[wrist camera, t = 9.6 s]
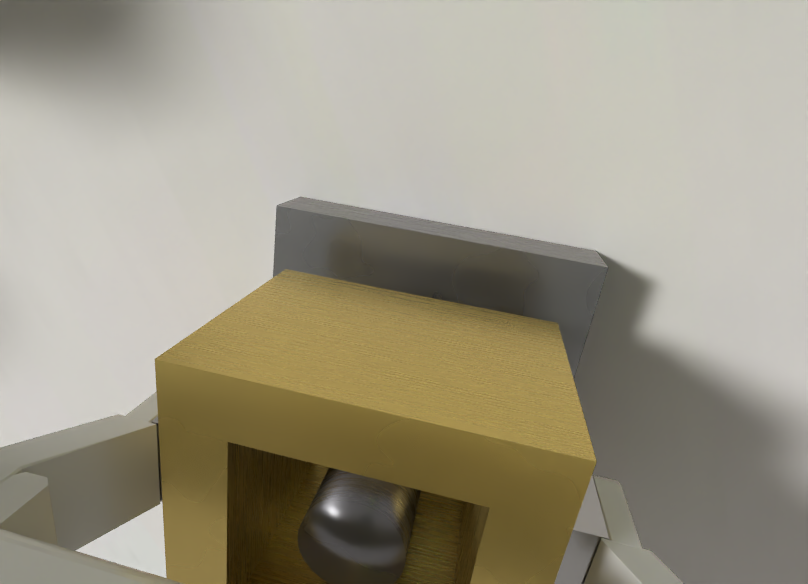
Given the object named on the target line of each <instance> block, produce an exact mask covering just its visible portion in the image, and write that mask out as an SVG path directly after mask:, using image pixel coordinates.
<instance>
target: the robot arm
mask: <svg viewBox="0 0 808 584" xmlns="http://www.w3.org/2000/svg"><path fill="white" fill-rule="evenodd" d="M160 501H162V482H161V463H160V445H159V426H158V408H157V392H155V393H154V394H153V395H152V396H150V397H149V398H148V399H146V400H145V401H144V402H142V403H141V404H140V405H139V406H137V407H136V408H135V409H133V410H132V411H131V412H130V413H128V414H127V415H126V416H123V415H119V414H118V415H114V416H110V417H107V418H103V419H100V420H96V421H93V422H89V423H86V424H82V425H79V426H75V427H72V428H68V429H65V430H61V431H58V432H54V433H50V434H47V435H43V436H40V437H36V438H33V439H29V440H26V441H22V442H19V443H15V444H12V445H8V446H5V447H1V448H0V584H184V583H180V582H177V581H174V580H170V579H167V578H164V577H160V576H157V575H154V574H150V573H147V572H144V571H140V570H137V569H134V568H130V567H127V566H124V565H120V564H117V563H114V562H110V561H107V560H104V559H100V558H97V557H94V556H90V555H87V554H84V553H80V552H77V551H75V550H77V549H79V548H81V547H82V546H84V545H86V544H88V543H90V542H91V541H93V540H95V539H97V538H99V537H101V536H102V535H104V534H106V533H108V532H110V531H111V530H113V529H115V528H117V527H119V526H120V525H122V524H124V523H126V522H128V521H130V520H131V519H133V518H135V517H137V516H139V515H140V514H142V513H144V512H146V511H148V510H150V509H151V508H153V507H155V506H157V505H159V504H160ZM162 502H163V501H162ZM554 584H684V583H683V582H682V581H681V580H680V579H679V578H678V577H677V576H676V575H675V574H674V573H673V572H672V571H671V570H670V569H669V568H668V567H667V566H666V565H665V564H664V563H663V562H662V561H661V560H660V559H659V558H658V557H657V556H656V555H655V554H654V553H653V552H652V551H650V550H646V549H643V548H642V545H641V542H640V539H639V536H638V533H637V530H636V527H635V525H634V522H633V519H632V516H631V513H630V510H629V507H628V504H627V501H626V498H625V495H624V492H623V489H622V486H621V484H620V483H619V482H618V481H617V480H613V479H609V478H604V477H599V476H594V475H592V476H591V479H590V482H589V485H588V488H587V491H586V494H585V496H584V499H583V502H582V505H581V508H580V511H579V514H578V517H577V519H576V522H575V525H574V528H573V531H572V534H571V537H570V539H569V542H568V545H567V548H566V551H565V554H564V557H563V560H562V562H561V565H560V568H559V571H558V574H557V577H556V580H555V582H554Z"/></svg>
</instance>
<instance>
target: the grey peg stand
mask: <svg viewBox="0 0 808 584" xmlns="http://www.w3.org/2000/svg"><path fill="white" fill-rule="evenodd" d="M285 269H288V270H293V271H298V272H303V273H308V274H313V275H318V276H323V277H328V278H333V279H339V280H344V281H349V282H354V283H359V284H364V285H369V286H374V287H379V288H384V289H389V290H394V291H399V292H404V293H409V294H414V295H419V296H424V297H429V298H434V299H439V300H444V301H449V302H454V303H459V304H464V305H469V306H474V307H480V308H485V309H490V310H495V311H500V312H505V313H510V314H515V315H520V316H525V317H530V318H535V319H540V320H545V321H550V322H555V323H558V326H559V329H560V333H561V336H562V340H563V343H564V347H565V350H566V354H567V358H568V361H569V365H570V368H571V372H572V375H573V379H574V376H575V373H576V370H577V367H578V363H579V360H580V357H581V354H582V351H583V347H584V344H585V341H586V338H587V334H588V331H589V328H590V325H591V322H592V318H593V315H594V312H595V309H596V305H597V302H598V299H599V296H600V293H601V289H602V286H603V283H604V280H605V276H606V273H607V270H608V266H607V265H606V264H605V262H604V261H603V260H602V258H601V257H600V256H599V254H598V253H597V251H593V250H588V249H582V248H577V247H571V246H566V245H560V244H555V243H550V242H544V241H539V240H533V239H528V238H522V237H517V236H511V235H506V234H500V233H495V232H489V231H484V230H479V229H473V228H468V227H462V226H457V225H451V224H446V223H440V222H435V221H429V220H424V219H419V218H413V217H408V216H402V215H397V214H391V213H386V212H380V211H375V210H369V209H364V208H358V207H353V206H348V205H342V204H337V203H331V202H326V201H320V200H315V199H309V198H304V197H298V198H296V199H293V200H290V201H287V202H285V203H282V204H279V205H277V209H276V229H275V249H274V269H273V277H275V276H276V275H278V274H279V273H281V272H282V271H284V270H285ZM420 494H421V490H417V489H414V488H410V487H406V486H402V485H398V484H394V483H390V482H386V481H382V480H378V479H374V478H370V477H366V476H362V475H358V474H354V473H350V472H346V471H342V470H338V469H334V468H330V467H329V468H328V470H327V472H326V474H325V476H324V478H323V480H322V482H321V485H320V487H319V489H318V491H317V493H316V495H315V497H314V499H313V501H312V503H311V505H310V507H309V509H308V511H307V513H306V515H305V517H304V519H303V521H302V523H301V525H300V527H299V530H298V547H299V550H300V553H301V555H302V557H303V559H304V560H305V562H306V564H307V565H308V566H309V567H310V568H311V569H312V570H313V572H314V573H316V574H317V575H318V576H319V577H320V578H322V579H323V580H325V581H326V582H328V583H330V584H393V583H395V582H396V581H397V580H398V579H399V577H400V576H401V574H402V572H403V570H404V567H405V563H406V558H407V553H408V549H409V544H410V540H411V535H412V530H413V526H414V521H415V517H416V512H417V507H418V503H419V498H420Z"/></svg>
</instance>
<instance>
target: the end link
mask: <svg viewBox="0 0 808 584" xmlns="http://www.w3.org/2000/svg"><path fill="white" fill-rule="evenodd" d="M155 370H156V389H157V408H158V426H159V445H160V463H161V482H162V501H163V519H164V538H165V557H166V575H167V579H170V580H174V581H177V582H180V583H184V584H330V583H328V582H326V581H325V580H323V579H322V578H320V577H319V576H318V575H317V574H316V573H314V572H313V570H312V569H311V568H310V567H309V566H308V565H307V564H306V562H305V560H304V559H303V557H302V555H301V553H300V550H299V547H298V530H299V527H300V525H301V523H302V521H303V519H304V517H305V515H306V513H307V511H308V509H309V507H310V505H311V503H312V501H313V499H314V497H315V495H316V493H317V491H318V489H319V487H320V485H321V482H322V480H323V478H324V476H325V474H326V472H327V470H328V468H329V467H330V468H334V469H338V470H342V471H346V472H350V473H354V474H358V475H362V476H366V477H370V478H374V479H378V480H382V481H386V482H390V483H394V484H398V485H402V486H406V487H410V488H414V489H417V490H421V494H420V498H419V503H418V507H417V512H416V517H415V521H414V526H413V530H412V535H411V540H410V544H409V549H408V553H407V558H406V563H405V567H404V570H403V572H402V574H401V576H400V577H399V579H398V580H397V581H396V582H395V583H393V584H554V582H555V580H556V577H557V574H558V571H559V568H560V565H561V562H562V560H563V557H564V554H565V551H566V548H567V545H568V542H569V539H570V537H571V534H572V531H573V528H574V525H575V522H576V519H577V517H578V514H579V511H580V508H581V505H582V502H583V499H584V496H585V494H586V491H587V488H588V485H589V482H590V479H591V476H592V474H593V471H594V468H595V465H596V462H597V461H596V458H595V454H594V450H593V447H592V443H591V440H590V436H589V433H588V429H587V425H586V422H585V418H584V415H583V411H582V408H581V404H580V400H579V397H578V393H577V390H576V386H575V383H574V379H573V375H572V372H571V368H570V365H569V361H568V358H567V354H566V350H565V347H564V343H563V340H562V336H561V333H560V329H559V326H558V323H555V322H550V321H545V320H540V319H535V318H530V317H525V316H520V315H515V314H510V313H505V312H500V311H495V310H490V309H485V308H480V307H474V306H469V305H464V304H459V303H454V302H449V301H444V300H439V299H434V298H429V297H424V296H419V295H414V294H409V293H404V292H399V291H394V290H389V289H384V288H379V287H374V286H369V285H364V284H359V283H354V282H349V281H344V280H339V279H333V278H328V277H323V276H318V275H313V274H308V273H303V272H298V271H293V270H288V269H285V270H284V271H282V272H281V273H279V274H278V275H276V276H275V277H273V278H272V279H271V280H269V281H268V282H266V283H265V284H263V285H262V286H260V287H259V288H257V289H256V290H255V291H253V292H252V293H250V294H249V295H247V296H246V297H244V298H243V299H241V300H240V301H239V302H237V303H236V304H234V305H233V306H231V307H230V308H228V309H227V310H225V311H224V312H223V313H221V314H220V315H218V316H217V317H215V318H214V319H212V320H211V321H209V322H208V323H207V324H205V325H204V326H202V327H201V328H199V329H198V330H196V331H195V332H193V333H192V334H191V335H189V336H188V337H186V338H185V339H183V340H182V341H180V342H179V343H177V344H176V345H175V346H173V347H172V348H170V349H169V350H167V351H166V352H164V353H163V354H161V355H160V356H158V357H157V358H156V359H155Z"/></svg>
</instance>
